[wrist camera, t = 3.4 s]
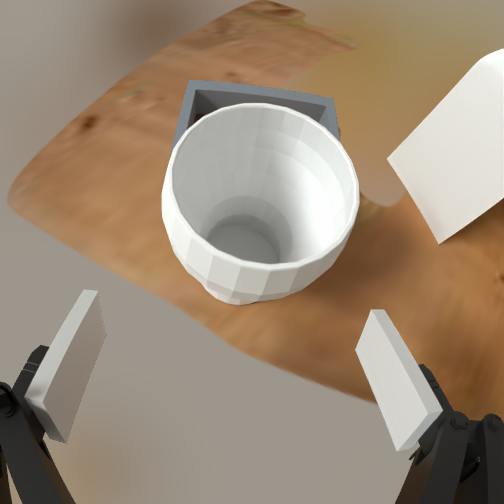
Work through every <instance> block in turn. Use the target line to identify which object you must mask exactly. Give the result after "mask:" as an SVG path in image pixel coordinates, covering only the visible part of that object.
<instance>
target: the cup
mask: <svg viewBox="0 0 504 504" xmlns="http://www.w3.org/2000/svg"><path fill="white" fill-rule="evenodd" d="M358 208H359V182H358V178H357V175H356V172H355V169H354V166H353V163H352V161H351V159H350V157H349V156H348V154H347V153H346V151H345V150H344V148H343V146H342V144H341V143H340V142H339V141H338V140H337V139H336V138H335V137H334V136H333V135H332V134H331V133H330V132H329V131H328V130H327V129H326V128H325V127H323V126H322V125H320V124H319V123H317V122H316V121H315V120H313V119H311V118H310V117H308V116H307V115H304V114H302V113H299V112H297V111H295V110H292V109H290V108H287V107H282V106H277V105H272V104H267V103H242V104H237V105H233V106H228V107H224V108H221V109H218V110H216V111H214V112H212V113H210V114H208V115H206V116H204V117H202V118H201V119H200V120H198V121H197V122H196V123H195V124H194V125H192V126H191V127H190V128H189V129H188V130H186V131H185V133H184V134H183V136H182V137H181V139H180V140H179V141H178V143H177V144H176V146H175V147H174V149H173V152H172V155H171V159H170V162H169V165H168V168H167V172H166V177H165V181H164V185H163V190H162V218H163V221H164V224H165V227H166V230H167V233H168V236H169V239H170V242H171V245H172V248H173V251H174V253H175V254H176V256H177V257H178V259H179V260H180V262H181V263H182V264H183V266H184V267H185V269H186V270H187V271H188V273H190V274H191V275H192V276H193V277H195V278H196V279H197V280H198V281H200V282H201V283H202V285H203V286H204V287H205V289H206V290H207V291H208V292H209V293H210V294H211V295H213V296H214V297H215V298H216V299H219V300H221V301H223V302H225V303H229V304H235V305H244V304H251V303H254V302H257V301H266V300H274V299H281V298H283V297H286V296H288V295H290V294H293V293H295V292H298V291H300V290H302V289H304V288H305V287H306V286H308V285H309V284H311V283H312V282H313V281H314V280H316V279H317V278H318V277H319V276H321V275H322V274H323V273H324V272H325V271H327V270H328V269H329V268H330V267H332V265H333V264H334V262H335V261H336V259H337V258H338V256H339V255H340V253H341V251H342V250H343V248H344V247H345V244H346V242H347V240H348V237H349V235H350V233H351V230H352V228H353V226H354V223H355V219H356V215H357V212H358Z"/></svg>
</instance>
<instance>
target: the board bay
mask: <svg viewBox="0 0 504 504" xmlns="http://www.w3.org/2000/svg"><path fill="white" fill-rule="evenodd" d="M242 103H267V104H272V105H277V106H282V107H287V108H290V109H292V110H295V111H297V112H299V113H302V114H304V115H307V116H308V117H310V118H311V119H313V120H315V121H316V122H317V123H319V124H320V125H322V126H323V127H325V128H326V129H327V130H328V131H329V132H330V133H331V134H332V135H333V136H334V137H335V138H336V139H337V140H338V141H339V142H340V138H339V131H338V124H337V117H336V110H335V104H334V99H333V98H327V97H323V96H318V95H313V94H308V93H302V92H296V91H290V90H284V89H278V88H271V87H263V86H255V85H247V84H238V83H227V82H215V81H200V80H189V81H188V85H187V88H186V92H185V96H184V100H183V104H182V108H181V112H180V116H179V120H178V124H177V128H176V133H175V137H174V141H173V146H172V150H171V155H172V152H173V149H174V147H175V146H176V144H177V143H178V141H179V140H180V139H181V137H182V136H183V134H184V133H185V131H186V130H188V129H189V128H190V127H191V126H192V125H194V121H195V116H196V114H206V115H208V114H210V113H212V112H214V111H216V110H218V109H221V108H224V107H228V106H233V105H237V104H242ZM171 155H170V158H171Z"/></svg>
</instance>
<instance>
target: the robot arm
mask: <svg viewBox="0 0 504 504" xmlns="http://www.w3.org/2000/svg"><path fill="white" fill-rule="evenodd" d="M105 338H106V331H105V327H104V321H103V315H102V310H101V304H100V298H99V292H98V291H93V290H83V292H82V294H81V296H80V297H79V298H78V300H77V302H76V303H75V305H74V307H73V308H72V310H71V311H70V313H69V315H68V316H67V318H66V320H65V321H64V323H63V325H62V327H61V328H60V330H59V332H58V334H57V335H56V337H55V339H54V341H53V342H52V344H51V346H50V347H46V346H43V345H40V346H39V347H38V348H37V349H35V350H34V351H33V352H32V354H31V355H30V357H29V359H28V360H27V363H26V364H25V366H24V368H23V370H22V371H21V373H20V375H19V377H18V378H17V380H16V382H15V384H14V386H13V388H12V389H11V387H10V386H9V385H8V384H6V383H4V382H0V504H12V500H11V494H10V488H9V482H8V474H7V466H6V463H7V465H8V469H9V471H10V474H11V477H12V479H13V482H14V485H15V487H16V489H17V492H18V494H19V497H20V499H21V501H22V503H23V504H76V503H75V502H74V500H73V498H72V497H71V494H70V493H69V491H68V489H67V487H66V485H65V483H64V482H63V480H62V478H61V476H60V474H59V472H58V470H57V468H56V466H55V464H54V462H53V459H52V457H51V455H50V453H49V451H48V448H47V446H46V444H45V442H44V440H43V436H44V433H45V432H46V433H47V435H48V436H49V438H50V439H52V440H56V441H59V442H63V443H67V441H68V438H69V434H70V431H71V428H72V425H73V422H74V419H75V416H76V413H77V411H78V408H79V405H80V402H81V399H82V396H83V393H84V391H85V388H86V386H87V383H88V380H89V378H90V375H91V372H92V370H93V367H94V365H95V362H96V360H97V357H98V355H99V352H100V350H101V347H102V345H103V343H104V340H105ZM355 351H356V353H357V355H358V358H359V360H360V362H361V365H362V367H363V369H364V372H365V374H366V376H367V379H368V381H369V383H370V386H371V388H372V391H373V393H374V395H375V398H376V400H377V403H378V405H379V408H380V410H381V413H382V415H383V417H384V420H385V422H386V425H387V428H388V430H389V433H390V435H391V438H392V440H393V443H394V446H395V448H396V451H401V450H405V449H409V448H412V447H413V446H414V444H415V443H416V442H417V441H418V442H419V444H420V447H419V448H418V449H417V450H416V451H415V452H414V453H413V454H412V456H411V457H410V458H409V460H411V459H412V458H413V457H414V456H415V457H414V460H413V463H412V465H411V468H410V470H409V472H408V475H407V477H406V480H405V482H404V484H403V487H402V489H401V492H400V494H399V496H398V498H397V500H396V502H395V504H504V423H503V421H502V420H501V418H500V417H498V416H497V415H495V414H487V415H486V416H485V417H484V418H483V419H482V420H481V421H473V420H469V419H468V418H467V417H466V416H465V415H464V414H462V413H461V412H457V411H453V409H452V407H451V405H450V404H449V402H448V400H447V398H446V396H445V395H444V393H443V391H442V389H441V388H439V384H438V383H437V381H436V379H435V377H434V376H433V374H432V372H431V371H430V370H429V369H428V368H427V367H426V366H425V365H423V364H420V365H418V364H417V363H416V361H415V359H414V358H413V356H412V354H411V353H410V351H409V349H408V348H407V346H406V344H405V343H404V341H403V339H402V338H401V336H400V334H399V333H398V331H397V329H396V328H395V326H394V325H393V323H392V321H391V320H390V318H389V317H388V315H387V313H386V312H385V310H373V309H371V312H370V314H369V317H368V319H367V322H366V325H365V327H364V330H363V332H362V335H361V337H360V340H359V342H358V344H357V347H356V349H355ZM479 460H480V461H479Z"/></svg>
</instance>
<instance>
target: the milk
mask: <svg viewBox="0 0 504 504" xmlns="http://www.w3.org/2000/svg"><path fill="white" fill-rule="evenodd" d="M387 160H388V161H389V163H390V164H391V166H392V167H393V169H394V170H395V171H396V173H397V175H398V176H399V178H400V179H401V181H402V182H403V184H404V186H405V187H406V189H407V190H408V192H409V194H410V195H411V197H412V198H413V200H414V202H415V203H416V205H417V207H418V208H419V210H420V212H421V213H422V215H423V217H424V219H425V220H426V222H427V224H428V226H429V227H430V229H431V231H432V233H433V235H434V236H435V238H436V240H437V242H438V244H440V243H442V242H443V241H444V240H446V239H447V238H449V237H450V236H452V235H453V234H455V233H456V232H458V231H459V230H460V229H462V228H463V227H465V226H466V225H468V224H469V223H470V222H472V221H473V220H475V219H476V218H477V217H479V216H480V215H481V214H483V213H484V212H485V211H487V210H488V209H490V208H491V207H492V206H494V205H495V204H496V203H498V202H499V201H500V200H501V199H503V198H504V49H501V50H498V51H495V52H493V53H491V54H489V55H487V56H485V57H483V58H482V59H480V60H479V61H478V62H477V63H476V64H475V65H474V66H473V67H472V68H471V69H470V70H469V71H468V73H467V74H466V75H465V76H464V77H463V78H462V79H461V80H460V81H459V83H458V84H457V85H456V86H455V87H454V88H453V89H452V90H451V91H450V92H449V93H448V94H447V96H446V97H445V98H444V99H443V100H442V101H441V102H440V103H439V104H438V106H436V107H435V109H434V110H433V111H432V112H431V113H430V114H429V115H428V116H427V117H426V118H425V119H424V120H423V122H421V124H420V125H419V126H418V127H417V128H416V129H415V130H414V131H413V132H412V133H411V134H410V135H409V136H408V137H407V138H406V139H405V140H404V141H403V142H402V144H401V145H400V146H399V147H398V148H397V149H396V150H395V151H394V152H393V153H392V154H391V155H390V156H389V157H388V158H387Z"/></svg>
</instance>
